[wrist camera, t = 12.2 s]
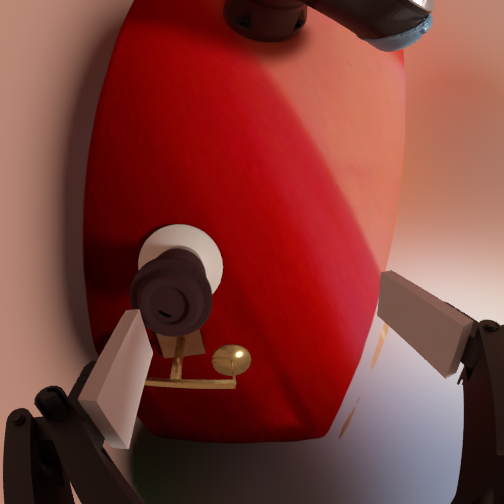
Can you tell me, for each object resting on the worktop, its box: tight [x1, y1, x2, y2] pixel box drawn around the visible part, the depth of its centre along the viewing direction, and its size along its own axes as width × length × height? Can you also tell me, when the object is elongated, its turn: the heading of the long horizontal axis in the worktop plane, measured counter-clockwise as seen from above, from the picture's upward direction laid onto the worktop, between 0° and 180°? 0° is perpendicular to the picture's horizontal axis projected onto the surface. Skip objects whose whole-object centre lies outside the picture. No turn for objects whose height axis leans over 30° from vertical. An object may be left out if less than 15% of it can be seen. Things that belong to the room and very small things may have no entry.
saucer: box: [138, 224, 223, 294], centre depth 43 cm, size 14×14×1 cm
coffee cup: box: [129, 246, 212, 337], centre depth 36 cm, size 10×10×15 cm
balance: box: [144, 328, 251, 389], centre depth 40 cm, size 6×24×15 cm, turn 97°
